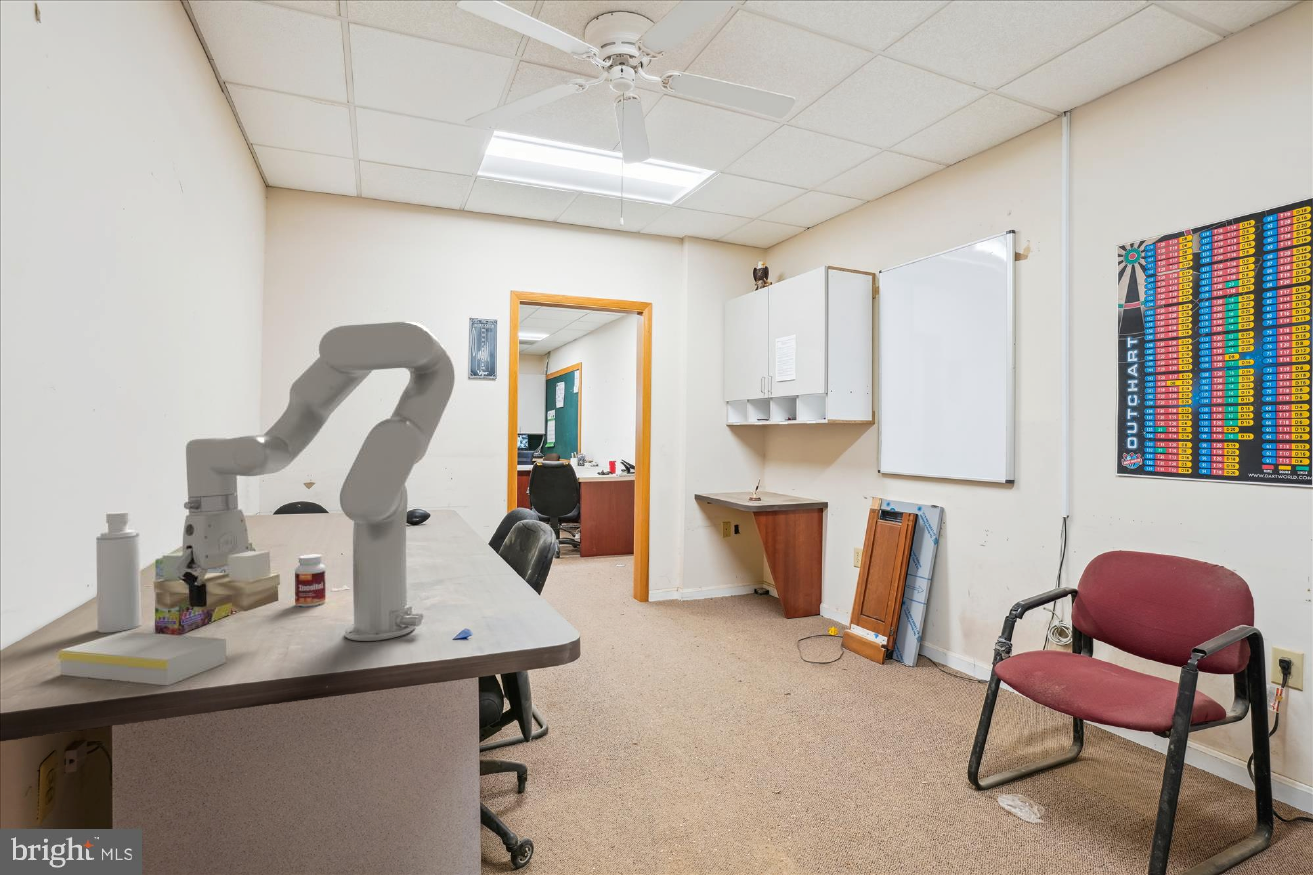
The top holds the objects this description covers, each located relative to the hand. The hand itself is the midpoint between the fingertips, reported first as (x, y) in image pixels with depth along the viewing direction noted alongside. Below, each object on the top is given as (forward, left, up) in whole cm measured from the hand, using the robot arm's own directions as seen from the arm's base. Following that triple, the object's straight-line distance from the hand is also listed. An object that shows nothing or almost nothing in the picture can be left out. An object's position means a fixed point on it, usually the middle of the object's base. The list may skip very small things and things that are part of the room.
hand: (218, 599), depth 116 cm
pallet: (0, 0, -1) cm, 1 cm away
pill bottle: (+5, -27, -8) cm, 29 cm away
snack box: (+17, -12, -8) cm, 22 cm away
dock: (+1, +13, -8) cm, 15 cm away
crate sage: (+8, 0, +4) cm, 9 cm away
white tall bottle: (+30, -4, -8) cm, 31 cm away
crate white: (-7, 0, +4) cm, 9 cm away
